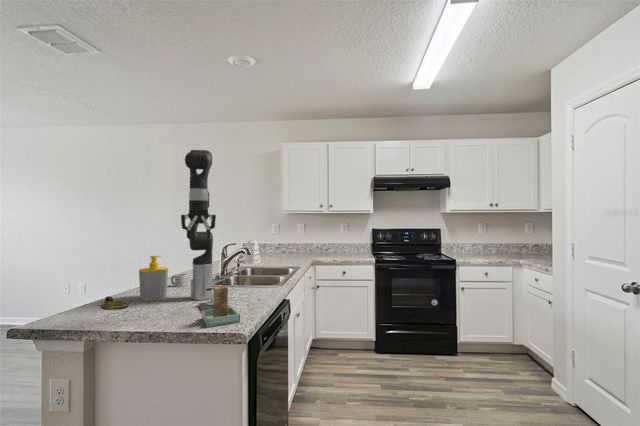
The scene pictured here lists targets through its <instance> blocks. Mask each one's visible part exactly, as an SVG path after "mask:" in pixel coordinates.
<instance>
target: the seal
mask: <svg viewBox="0 0 640 426" xmlns="http://www.w3.org/2000/svg"><path fill="white" fill-rule="evenodd" d="M129 306H130V305H129V303H128V302H124V301H121V300H114V298H113V297H112V296H109V295H108V296H106V297H105V298H104V303H103V304H101V306H100V308H101V309H103V310H109V311H111V310H113V311H114V310H115V311H116V310H123V309H124V310H125V309H126V308H129Z"/></svg>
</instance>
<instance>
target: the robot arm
mask: <svg viewBox="0 0 640 426" xmlns="http://www.w3.org/2000/svg"><path fill="white" fill-rule="evenodd" d="M184 163H185V166H186V167H187V168H188V169H189V175H190V177H189V192H188V193H189V194H188V213H187V214H181V215H180V220H181V229H183V230H185V231H186V239H188V240H189V249H190V250H191V251H204V253H202V254H200V255H199V256H195V257H194V258H193V259H192V278H191V280H190V300H195V301H204V300H205V301H206V300H209V299H210V300H211V290H210V291H207V290H206V289H208V288H213V247H214V235H213V233H212V232H211V230H212V229H215V228H216V217H217V216H216V214H210V213H209V207H210V192H209V189H208V179H209V173H210V170H211V167H212V165H213V154H212V152H211V151H209V150H207V149H204V150H202V149H190V151H189V152H187V153H186V155H185V158H184ZM197 170H202V171H201V172H200V173H198V172H197ZM208 218H209V219H210V220H211V222H210V225H209V222H208V221H207V220H208ZM187 219H189V221H190V222H189V224H188V225H187V226H186V220H187ZM199 224H203V226H204V227H205V228H206V230H205V231H198V227H199Z"/></svg>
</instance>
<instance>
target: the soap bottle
mask: <svg viewBox="0 0 640 426" xmlns="http://www.w3.org/2000/svg"><path fill="white" fill-rule="evenodd" d="M149 258H151V259H150V260H151V261H150V262H149V267H144V268H140V269H138V278H139V295H140V301H142V300H144V302H154V301H153V300H156V301H161V300H163V299H166V298H167V292H168V291H167V290H168V289H167V288H168V273H169V267H168V266H167V267H166V266H159V262H157V258H162V256H161V255H150V256H149ZM160 299H161V300H160Z"/></svg>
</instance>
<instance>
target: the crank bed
mask: <svg viewBox="0 0 640 426" xmlns="http://www.w3.org/2000/svg"><path fill="white" fill-rule="evenodd" d="M206 290H207V291H210V290H211V298H210V301H209V300H208V301H206V302H199V303H198V304H197V305H198V307H199V309H200V310H201V312H202V311H206V310H213V287H212V288H208V289H206ZM228 307H230V306H229V305H228Z"/></svg>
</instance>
